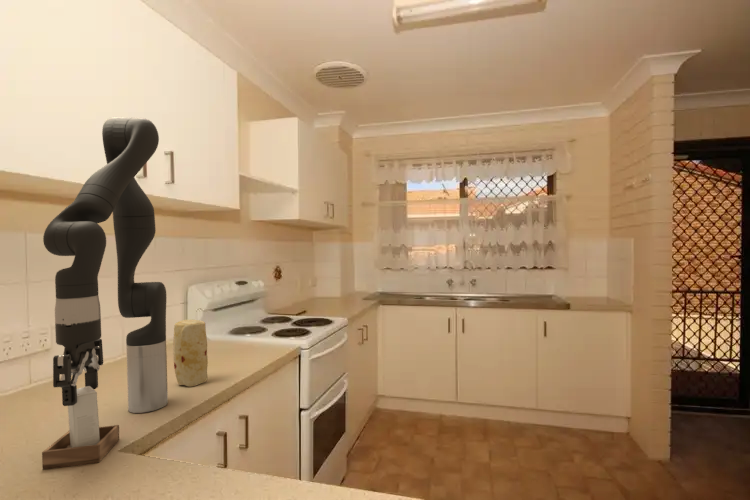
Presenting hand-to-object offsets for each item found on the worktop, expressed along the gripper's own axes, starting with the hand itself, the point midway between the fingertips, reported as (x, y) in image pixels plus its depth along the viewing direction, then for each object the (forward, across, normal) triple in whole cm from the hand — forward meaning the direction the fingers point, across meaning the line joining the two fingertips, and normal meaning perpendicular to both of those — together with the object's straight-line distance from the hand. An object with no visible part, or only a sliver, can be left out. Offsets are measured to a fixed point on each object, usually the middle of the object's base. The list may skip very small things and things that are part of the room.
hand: (81, 396), depth 82 cm
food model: (+13, -40, +11) cm, 43 cm away
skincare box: (+11, 0, 0) cm, 11 cm away
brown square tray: (+12, 0, 0) cm, 12 cm away
